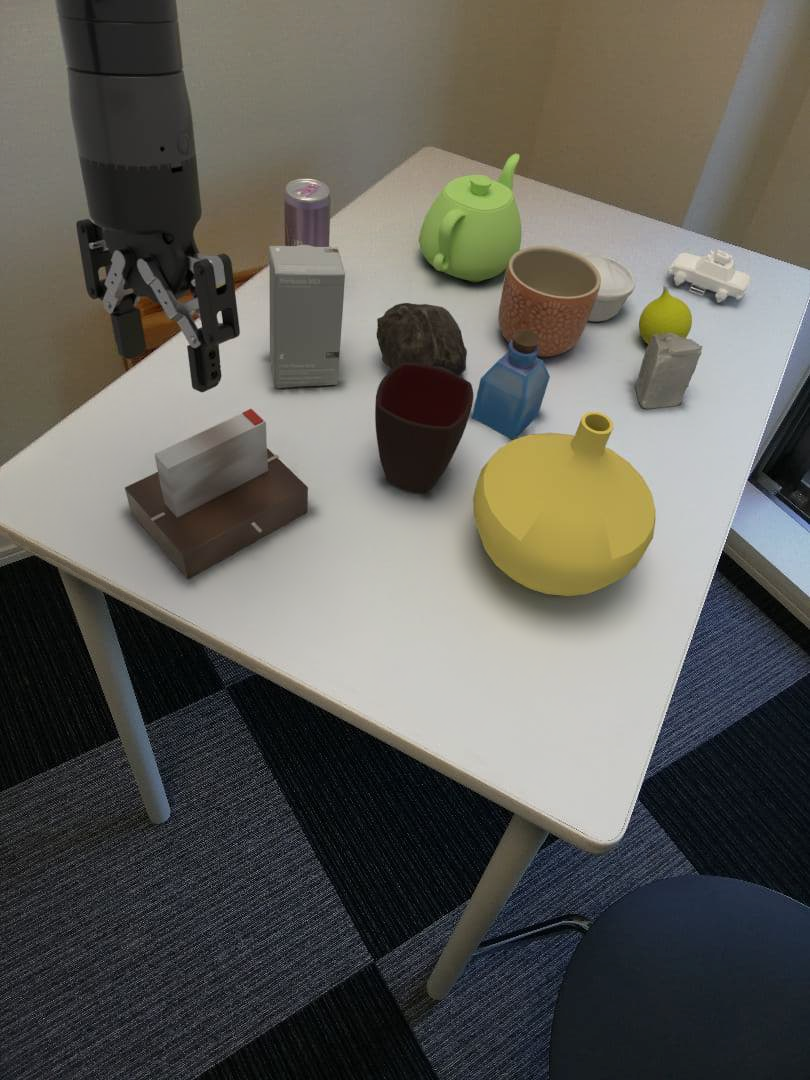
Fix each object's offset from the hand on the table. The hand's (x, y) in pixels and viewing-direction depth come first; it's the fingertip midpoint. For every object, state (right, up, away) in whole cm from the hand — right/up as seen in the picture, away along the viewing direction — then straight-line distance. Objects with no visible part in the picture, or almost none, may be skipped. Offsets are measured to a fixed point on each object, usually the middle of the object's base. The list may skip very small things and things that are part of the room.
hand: (169, 371), depth 61 cm
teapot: (+29, +30, +59) cm, 73 cm away
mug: (+20, -5, +30) cm, 36 cm away
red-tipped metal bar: (-1, -8, +19) cm, 20 cm away
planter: (+37, +15, +47) cm, 62 cm away
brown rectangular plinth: (-1, -10, +22) cm, 24 cm away
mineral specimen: (+52, +7, +43) cm, 68 cm away
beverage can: (+5, +22, +49) cm, 54 cm away
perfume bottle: (+32, +2, +37) cm, 48 cm away
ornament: (+55, +15, +50) cm, 76 cm away
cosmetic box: (+6, +8, +38) cm, 40 cm away
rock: (+21, +9, +41) cm, 46 cm away
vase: (+34, -15, +23) cm, 44 cm away
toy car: (+66, +26, +61) cm, 93 cm away
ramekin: (+46, +22, +55) cm, 75 cm away
